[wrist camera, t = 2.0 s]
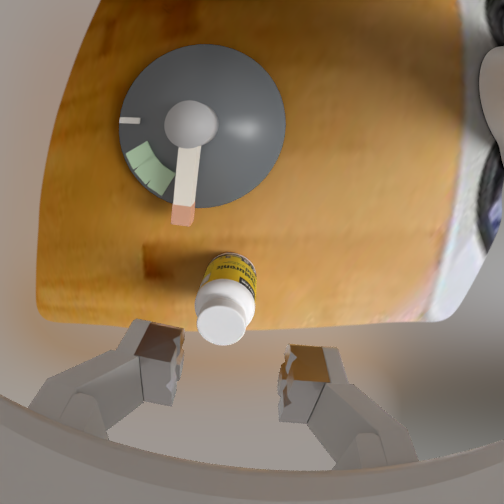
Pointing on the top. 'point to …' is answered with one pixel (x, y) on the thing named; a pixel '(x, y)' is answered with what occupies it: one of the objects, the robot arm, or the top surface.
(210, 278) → the supplement bottle
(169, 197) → the dial plate
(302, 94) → the top surface
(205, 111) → the needle
